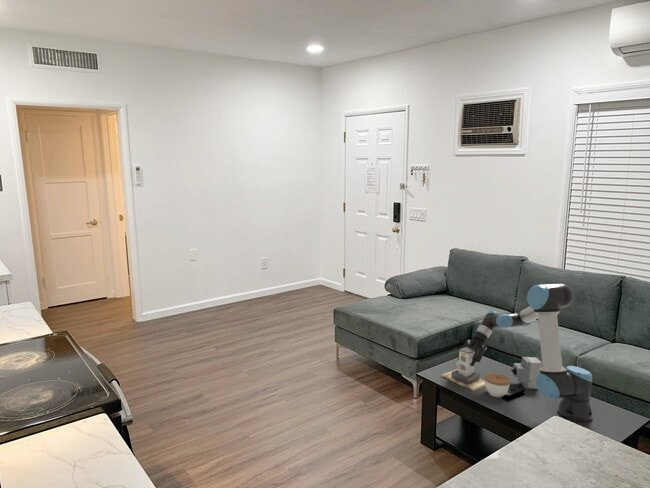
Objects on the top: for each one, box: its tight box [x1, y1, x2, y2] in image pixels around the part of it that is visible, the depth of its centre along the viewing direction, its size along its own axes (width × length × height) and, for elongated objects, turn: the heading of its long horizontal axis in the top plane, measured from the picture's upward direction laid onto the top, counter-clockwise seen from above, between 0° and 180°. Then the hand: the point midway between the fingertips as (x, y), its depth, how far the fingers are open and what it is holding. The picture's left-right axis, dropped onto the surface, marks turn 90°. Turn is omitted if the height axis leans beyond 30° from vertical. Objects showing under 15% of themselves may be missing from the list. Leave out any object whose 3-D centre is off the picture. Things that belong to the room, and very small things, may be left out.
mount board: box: [441, 368, 486, 392], centre depth 265 cm, size 22×14×1 cm, turn 35°
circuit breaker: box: [511, 356, 543, 390], centre depth 259 cm, size 8×14×15 cm, turn 88°
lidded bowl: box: [484, 372, 511, 398], centre depth 248 cm, size 13×13×11 cm
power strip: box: [457, 347, 475, 377], centre depth 263 cm, size 6×6×16 cm
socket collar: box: [451, 369, 481, 384], centre depth 265 cm, size 11×11×4 cm
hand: (462, 368), depth 262 cm, fingers closed on power strip, 6 cm apart
